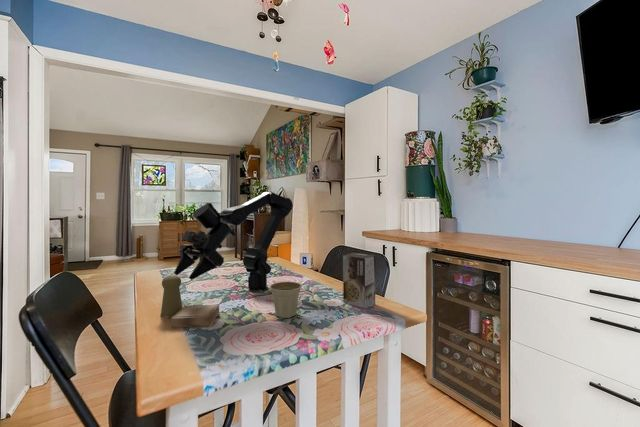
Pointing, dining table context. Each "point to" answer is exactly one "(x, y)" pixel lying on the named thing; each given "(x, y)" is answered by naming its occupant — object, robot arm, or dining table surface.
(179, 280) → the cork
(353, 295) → the coffee box
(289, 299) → the flower pot
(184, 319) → the walnut plinth
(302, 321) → the dining table surface
